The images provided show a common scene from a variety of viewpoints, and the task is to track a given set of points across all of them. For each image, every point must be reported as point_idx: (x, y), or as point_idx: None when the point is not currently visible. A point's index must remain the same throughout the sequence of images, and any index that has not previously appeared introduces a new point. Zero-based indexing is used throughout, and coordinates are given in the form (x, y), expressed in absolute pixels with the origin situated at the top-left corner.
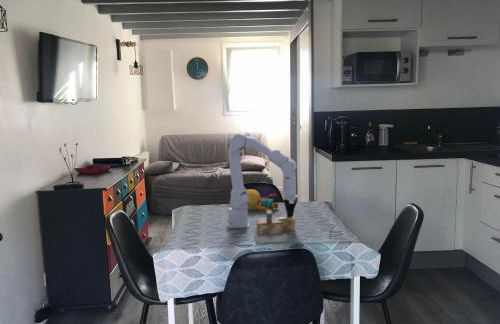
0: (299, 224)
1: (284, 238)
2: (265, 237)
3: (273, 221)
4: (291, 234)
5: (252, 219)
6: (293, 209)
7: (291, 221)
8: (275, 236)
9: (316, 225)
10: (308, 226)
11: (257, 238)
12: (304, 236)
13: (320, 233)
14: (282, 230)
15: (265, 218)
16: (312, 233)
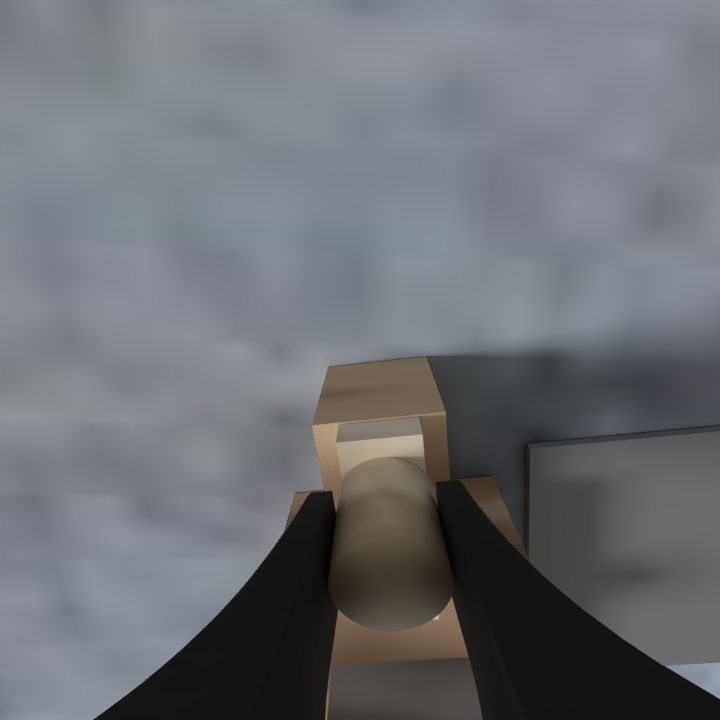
0: (157, 300)
1: (714, 466)
2: (637, 607)
3: (464, 643)
4: (551, 395)
5: (68, 687)
6: (537, 581)
7: (445, 451)
8: (627, 538)
9: (170, 60)
10: (232, 186)
11: (650, 655)
12: (656, 257)
13: (570, 18)
14: (499, 493)
15: (327, 706)
16: (551, 145)
